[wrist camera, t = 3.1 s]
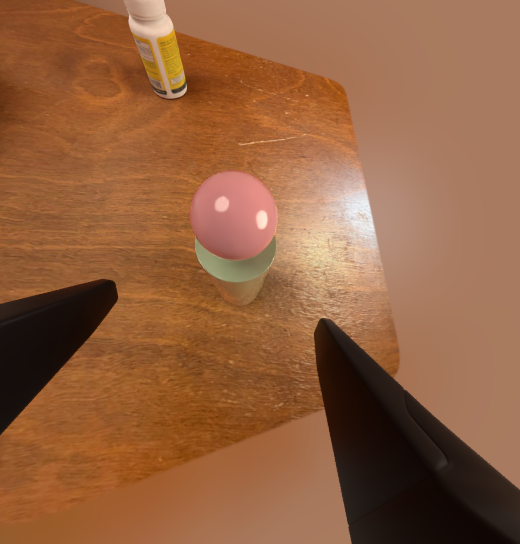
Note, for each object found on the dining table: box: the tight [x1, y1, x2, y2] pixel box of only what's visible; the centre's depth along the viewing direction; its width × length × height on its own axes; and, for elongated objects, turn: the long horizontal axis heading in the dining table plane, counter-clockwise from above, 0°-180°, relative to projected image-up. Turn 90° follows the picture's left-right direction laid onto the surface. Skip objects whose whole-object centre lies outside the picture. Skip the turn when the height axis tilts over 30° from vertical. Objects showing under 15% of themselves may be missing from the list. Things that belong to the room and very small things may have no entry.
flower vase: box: [190, 170, 278, 306], centre depth 13 cm, size 4×4×14 cm
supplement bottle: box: [124, 0, 187, 99], centre depth 23 cm, size 5×5×8 cm
